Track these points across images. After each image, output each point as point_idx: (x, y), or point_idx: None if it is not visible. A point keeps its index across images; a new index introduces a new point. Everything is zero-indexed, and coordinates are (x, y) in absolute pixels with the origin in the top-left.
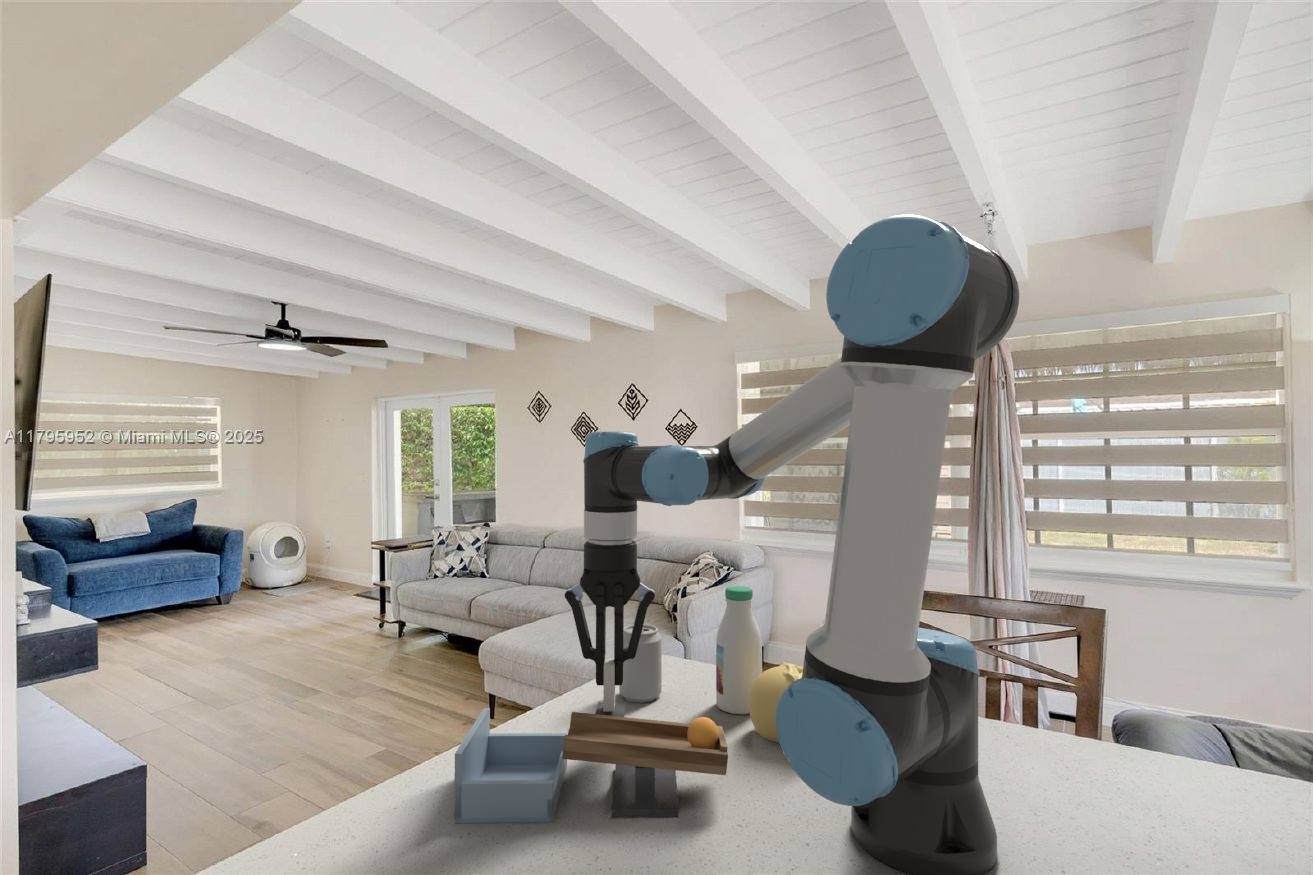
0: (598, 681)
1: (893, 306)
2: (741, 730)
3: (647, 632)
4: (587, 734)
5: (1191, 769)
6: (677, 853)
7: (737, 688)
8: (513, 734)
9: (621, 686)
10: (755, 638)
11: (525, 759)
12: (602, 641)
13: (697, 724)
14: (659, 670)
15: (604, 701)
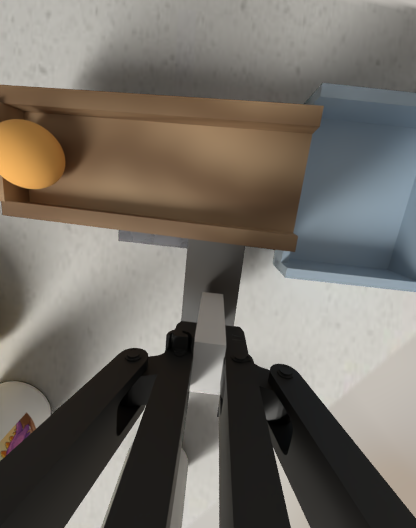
0: (237, 331)
1: None
2: (22, 337)
3: None
4: (259, 199)
5: None
6: (132, 3)
7: None
8: (377, 283)
9: (184, 465)
10: None
11: (337, 265)
12: (235, 403)
13: (19, 134)
14: (116, 487)
15: (221, 301)
